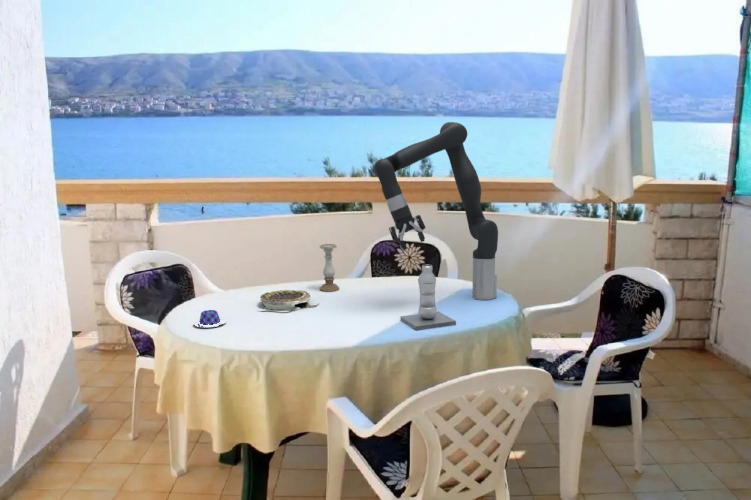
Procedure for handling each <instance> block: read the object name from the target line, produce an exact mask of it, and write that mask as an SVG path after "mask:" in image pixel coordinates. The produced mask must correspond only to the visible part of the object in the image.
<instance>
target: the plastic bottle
mask: <svg viewBox="0 0 751 500" xmlns="http://www.w3.org/2000/svg"><path fill="white" fill-rule="evenodd" d="M417 282H418V289H419V306H418V314H419V316H420V317H421V318H423V319H432V318H435V316H436V313H437V312H438V310H437V306H436V296H435V295H436V286H437V285H436V284H437V278H436V275H435V274H434V273H433V265H432V264H426V263H425V264H422V265H421V273H420V275H419V276H418V279H417Z"/></svg>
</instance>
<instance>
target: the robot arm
mask: <svg viewBox="0 0 751 500" xmlns="http://www.w3.org/2000/svg"><path fill="white" fill-rule="evenodd" d="M467 137H468V130H467V128H466V126H465V125H463V124H462V123H460V122H453V121H449V122H448V121H447V122H445V123H444V124H442V126H441V127H440V130H439V133H438V134H436V135H434V136H432V137H429V138H427V139H425V140H422V141H419V142H415V143H413V144H410V145H408V146H405V147H404V148H401V149H400V150H397V151H396V152H395V153H393V154H392V155H389V156H387V157H384V158H382V159H378V160H377V161H376V162H375V163H374V164H373V165H372V173H373V174H374V176H376V177H377V178H378V180H379V183H380V185H381V191H382V193H383V196H384V199H385V202H386V204H387V207H388V210H389V213H390V215H391V218H392V221H393V222H394V226H390V227H389V228H388V231H389V233H390V236H391V238H392V241H393V243H396V242H398V244H399V246H400V248H401V250H403V251H406V250H407V245H406V243H405V241H404V236H405V234H406V233H408V232H411V231H414V232H417V236H418V238H419V241H420V242H421V243H423V242H425V239H426V237H425V235H424V233H423V231H424V230H425V229H426V225H425V223H424V221H423V219H422V216H421V215H420V214H418V215H415V216H413V214H412V211H411V209H410V207H409V204H408V202H407V200H406V198H405V195H404V193H403V191H402V189H401V187H400V184H399V182H398V178H397V175H396V172H398V171H400V170H403V169H405V168H407V167H409V166H412V165H414V164H416V163H417V162H419V161H421V160H423V159H426V158H427V157H430V156H432V155H434V154H436V153H439V152H442V151H445V152H446V154H447V157H448V160H449V164H450V167H451V171H452V174H453V177H454V181H455V184H456V188H457V190H458V193H459V196H460V199H461V203H462V206H463V208H464V211H465V212H464V213H465V215H466V221H467V225H468V229H469V234H470V236H471V237H472V238H473V239H474V240H476V241H477V248H476V249H474V250H473V251H472V298H473V299H475V300H480V301H481V300H483V301H488V300H493V299H497V298H498V297H497V296H498V295H497V293H498V292H497V291H498V289H497V286H498V284H497V283H498V276H497V274H496V253H497V251H498V240H499V230H498V229H499V228H498V225H497V223H495V222H494V221H493V220H490V219H487V218H486V217H485V216H484V213H483V209H482V206H481V198H482V197H481V196H482V185H481V182H480V179H479V176H478V173H477V170H476V169H475V166H474V165H473V163H472V161H471V160H470V158H469V157H468V155H467V152H466V150H465V146H464V143H465V142H466V140H467ZM415 222H417V224H415ZM397 230H398V232H397Z"/></svg>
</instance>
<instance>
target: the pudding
mask: <svg viewBox="0 0 751 500" xmlns="http://www.w3.org/2000/svg"><path fill="white" fill-rule="evenodd" d="M220 319H221V317H220V316H219V313H218V311H217V310H216V309H207V310H204V311H201V313H200V317H199V320H198V321H199V322H200V324H203V325H208V324H209V325H213V324H217V323H219V322H220Z"/></svg>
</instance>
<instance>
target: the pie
mask: <svg viewBox="0 0 751 500" xmlns="http://www.w3.org/2000/svg"><path fill="white" fill-rule="evenodd" d="M259 298H260V302H261V303H262V304H263V307H264V306H265V307H264V308H267V309H266V310H268V309H273V310H272V311H273V312H275V313H277V311H281V312H282V311H283V312H282V313H283V314H284V313H285V314H287V313H290V312H292V311H293V312H296V311H301V307H297V306H295V305H299V304H305V307H306V308H315V307H318V304H316V305H315V304H309V302H310V299H311V294H310V292H308V291H307V290H302V289H301V290H294V289H284V290H283V289H282V290H274V291H270V292H265V293H263V294H260V297H259ZM284 311H285V312H284Z"/></svg>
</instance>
